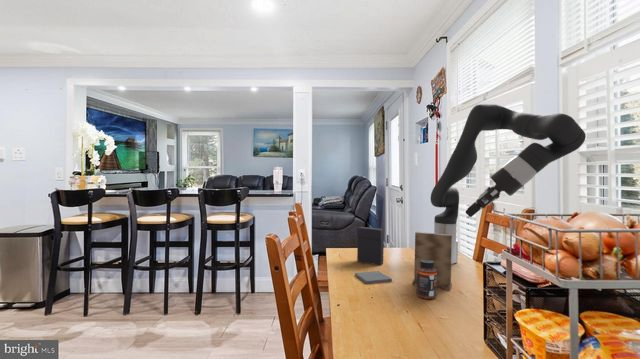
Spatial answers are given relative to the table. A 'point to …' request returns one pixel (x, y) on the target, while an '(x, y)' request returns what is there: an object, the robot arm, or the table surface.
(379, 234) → the dark gray upright block
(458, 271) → the table surface
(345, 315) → the table surface
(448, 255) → the screen
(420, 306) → the table surface
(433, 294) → the supplement bottle
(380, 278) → the pad
